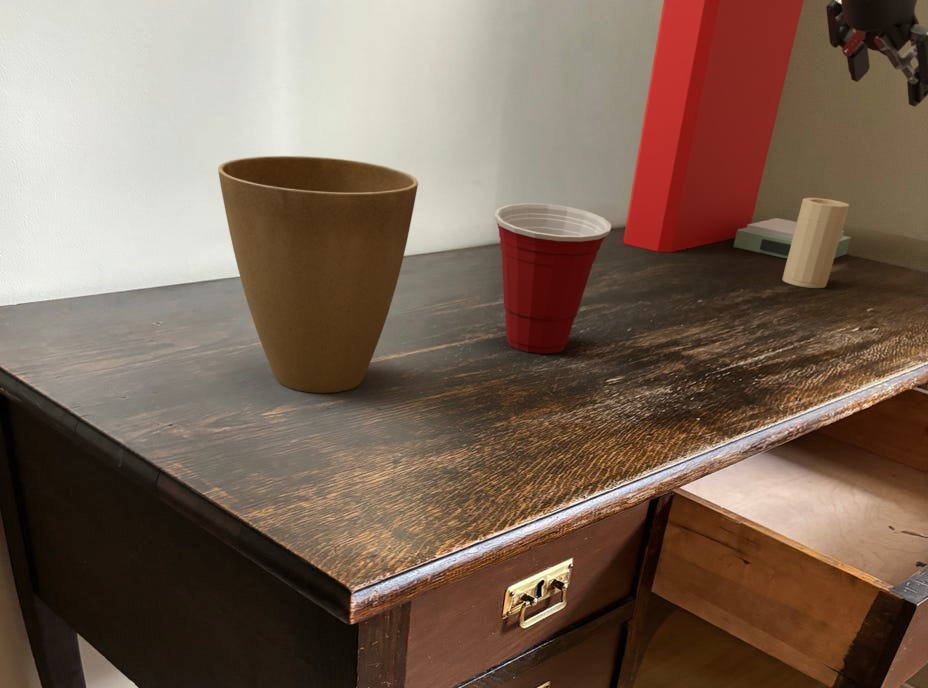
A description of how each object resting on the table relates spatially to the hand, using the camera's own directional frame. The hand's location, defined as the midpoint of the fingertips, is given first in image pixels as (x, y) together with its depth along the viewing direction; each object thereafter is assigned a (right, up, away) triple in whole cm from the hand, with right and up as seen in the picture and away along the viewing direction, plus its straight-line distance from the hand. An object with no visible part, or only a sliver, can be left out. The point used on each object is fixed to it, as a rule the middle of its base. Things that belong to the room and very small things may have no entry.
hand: (889, 87), depth 113 cm
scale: (+1, -5, +34) cm, 34 cm away
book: (-15, -3, +36) cm, 39 cm away
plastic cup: (-43, -36, -19) cm, 59 cm away
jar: (-4, -17, +16) cm, 24 cm away
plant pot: (-63, -43, -32) cm, 83 cm away
